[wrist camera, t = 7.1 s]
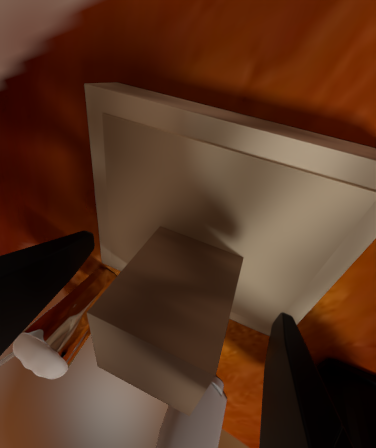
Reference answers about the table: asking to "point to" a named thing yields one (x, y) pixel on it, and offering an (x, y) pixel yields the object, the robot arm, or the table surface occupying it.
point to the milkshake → (60, 329)
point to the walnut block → (167, 317)
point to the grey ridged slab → (195, 422)
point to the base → (231, 194)
